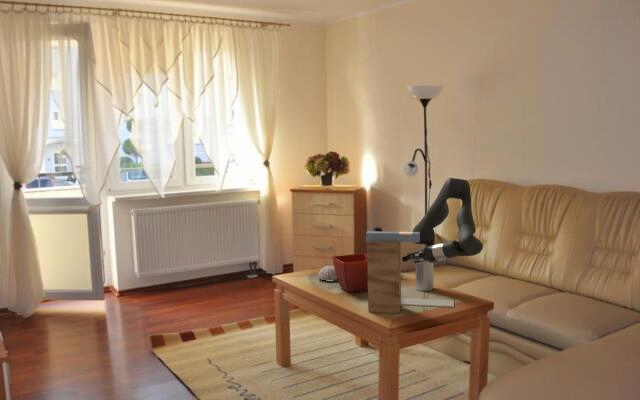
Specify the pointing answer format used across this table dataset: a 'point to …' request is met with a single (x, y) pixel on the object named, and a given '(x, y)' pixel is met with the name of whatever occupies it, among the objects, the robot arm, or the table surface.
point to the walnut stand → (384, 276)
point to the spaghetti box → (392, 236)
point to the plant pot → (352, 271)
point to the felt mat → (427, 302)
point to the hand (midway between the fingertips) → (408, 260)
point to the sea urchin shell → (327, 273)
